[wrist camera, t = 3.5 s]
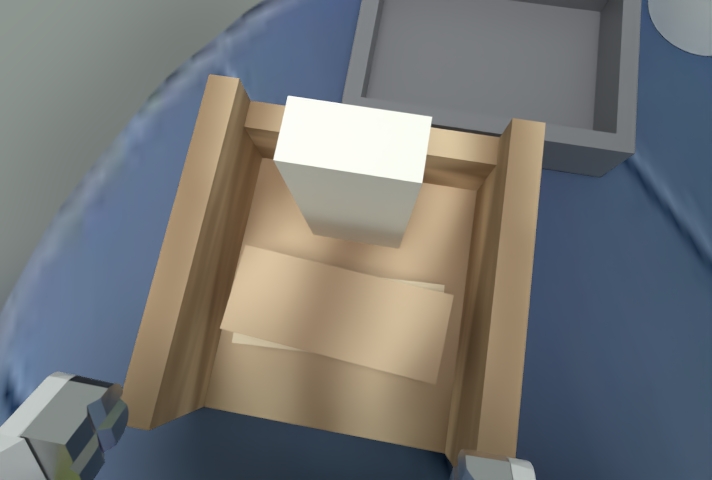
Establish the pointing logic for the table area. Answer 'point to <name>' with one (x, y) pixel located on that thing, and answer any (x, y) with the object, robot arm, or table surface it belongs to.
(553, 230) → the table surface
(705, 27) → the cylindrical container
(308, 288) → the offcut top
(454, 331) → the tray
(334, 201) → the white upright pillar
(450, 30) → the charcoal tray
